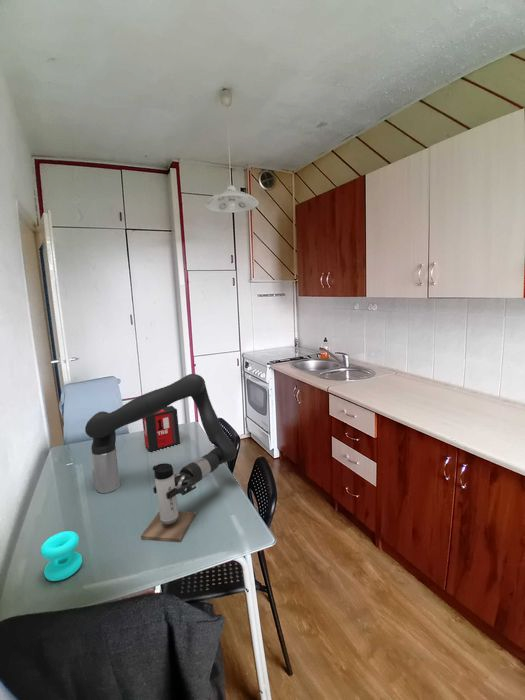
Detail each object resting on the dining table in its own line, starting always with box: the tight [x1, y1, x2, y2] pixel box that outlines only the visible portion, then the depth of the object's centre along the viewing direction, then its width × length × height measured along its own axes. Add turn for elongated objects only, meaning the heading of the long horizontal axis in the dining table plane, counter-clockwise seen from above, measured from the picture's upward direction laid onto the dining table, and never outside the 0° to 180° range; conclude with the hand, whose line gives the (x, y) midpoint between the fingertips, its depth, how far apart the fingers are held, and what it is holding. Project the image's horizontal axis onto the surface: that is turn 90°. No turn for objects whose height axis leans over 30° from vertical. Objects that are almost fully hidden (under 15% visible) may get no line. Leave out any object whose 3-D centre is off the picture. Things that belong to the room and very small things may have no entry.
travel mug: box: [152, 462, 179, 524], centre depth 121 cm, size 6×7×20 cm
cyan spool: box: [40, 530, 83, 582], centre depth 105 cm, size 10×10×10 cm
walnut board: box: [140, 511, 197, 543], centre depth 123 cm, size 14×14×1 cm
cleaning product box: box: [141, 405, 181, 453], centre depth 189 cm, size 16×9×20 cm, turn 122°
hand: (160, 493), depth 119 cm, fingers closed on travel mug, 6 cm apart
